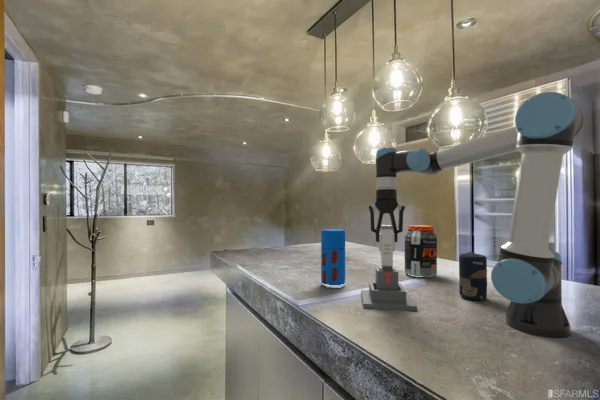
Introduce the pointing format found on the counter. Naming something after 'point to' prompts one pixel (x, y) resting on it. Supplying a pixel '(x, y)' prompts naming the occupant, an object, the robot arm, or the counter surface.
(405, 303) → the base
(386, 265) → the column
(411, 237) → the supplement tub
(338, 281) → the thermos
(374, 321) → the counter surface
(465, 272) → the canister
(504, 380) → the counter surface
